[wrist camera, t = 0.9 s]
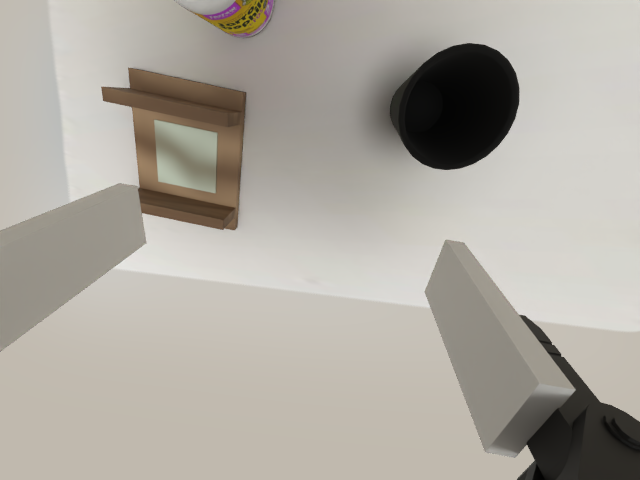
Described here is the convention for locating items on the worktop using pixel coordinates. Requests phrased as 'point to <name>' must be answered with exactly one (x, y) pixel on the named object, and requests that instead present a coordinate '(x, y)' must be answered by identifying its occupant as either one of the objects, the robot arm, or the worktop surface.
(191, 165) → the holder
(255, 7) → the supplement bottle
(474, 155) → the cup
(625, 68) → the worktop surface
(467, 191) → the worktop surface
